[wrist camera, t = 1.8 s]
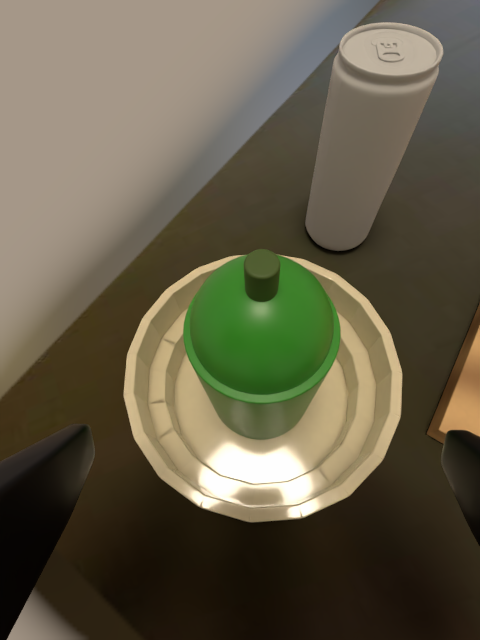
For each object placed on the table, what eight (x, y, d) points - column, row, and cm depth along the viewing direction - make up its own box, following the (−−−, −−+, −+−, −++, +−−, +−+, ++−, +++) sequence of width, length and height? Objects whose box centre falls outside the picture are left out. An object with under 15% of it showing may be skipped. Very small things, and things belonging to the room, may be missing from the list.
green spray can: (316, 435, 19) (400, 354, 8) (212, 443, 19) (148, 375, 8) (301, 340, 21) (346, 178, 10) (209, 347, 21) (159, 194, 10)
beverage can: (364, 207, 27) (435, 19, 16) (371, 256, 25) (458, 76, 14) (303, 206, 27) (333, 22, 17) (304, 254, 25) (340, 77, 14)
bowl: (396, 504, 18) (443, 508, 13) (147, 523, 18) (110, 533, 13) (344, 291, 23) (364, 244, 19) (158, 306, 24) (135, 263, 19)
